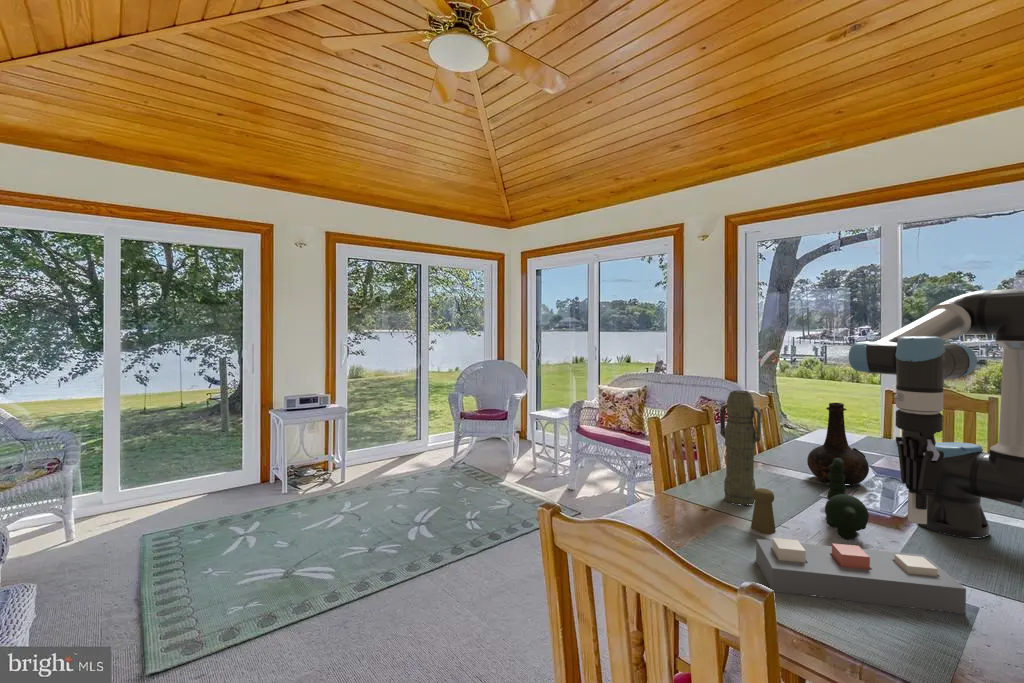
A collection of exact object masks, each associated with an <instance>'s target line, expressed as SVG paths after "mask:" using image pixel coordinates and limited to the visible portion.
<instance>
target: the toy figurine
mask: <svg viewBox="0 0 1024 683" xmlns="http://www.w3.org/2000/svg"><path fill="white" fill-rule="evenodd" d="M843 464H844V461H843V460H842V459H841V458H835V459H834V460H833V464H831V465H829V469H830V471H831V472H830V473H828V474H827V477H828V478H829V479H830V482H829V483H826V488H827V489H829V491H828V492H827V496H826V498H827V501H826V503H825V506H824V512H825V520H826V521H825V522H826V524H827V526H829V527H830V528H836V529H837V530H836V531H837V532H836V533H837V535H838V537H840V539H841V538H842V539H845V540H851V541H852V540H855V539H857V537H858V533H857V532H859V531H862V530H865V529H866V528H867V524H868V523H869V519H870V514H869V511H868V508H867V507H866V505H865V504H864V503H863V501H861V500H860V499H859V498H857V497H855V496H854V495H851V494H847V493H846V490H847V488H846V487H847V486H845V484H844V483H843V482H844V481H845V476H844V474H843V472H844V468H843Z"/></svg>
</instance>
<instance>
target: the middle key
mask: <svg viewBox="0 0 1024 683" xmlns="http://www.w3.org/2000/svg"><path fill="white" fill-rule="evenodd" d="M831 546H832V558H833V559H834V560H835V561H836V562H837V564H838V565H839V566H840V567H849V568H859V569H869V570H870V557H869V556H868V555H867V554H866V553H865V552H864V551H863V550H862V549H863V548H861V547H860V546H859V545H855V544H854V545H852V544H844V543H843V544H841V543H831Z"/></svg>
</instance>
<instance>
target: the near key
mask: <svg viewBox="0 0 1024 683" xmlns="http://www.w3.org/2000/svg"><path fill="white" fill-rule="evenodd" d="M894 562H895V563H896V564H897V565H898V566H899V567H900V568H901V569H902V570H903V571H904V572H905V573H908V574H917V575H927V576H937V575H938V569H937V568H936V567H935V566H933V565H932V564H931V563H930V562H929V561H927V560H926V559H925V558H924V557H919V556H909V555H898V554H895V556H894Z"/></svg>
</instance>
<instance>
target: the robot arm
mask: <svg viewBox="0 0 1024 683" xmlns="http://www.w3.org/2000/svg"><path fill="white" fill-rule="evenodd" d="M964 335H988V336H990V335H995V343H996V344H997V345H999V346H1000V347H1001V348H1002V350H1003V351H1002V352H1003V354H1002V369H1001V370H1002V372H1001V375H1002V376H1001V387H1000V388H1001V389H1000V390H1001V393H1000V409H999V410H1000V411H999V412H1000V413H999V426H998V427H999V429H998V430H999V431H998V442H997V443H996V444H994V445H991V446H990V448H989V452H984V449H983V447H982V446H981V445H980V444H977V443H969V442H960V441H959V442H955V441H954V442H953V441H951V442H950V441H943V442H942V441H941V442H936V439H935V434H936V433H941V432H942V431H943V430H944V425H943V424H944V414H942V413H941V412H943V411H944V394H945V392H944V382H945V381H944V380H955V379H960V378H961V377H965V376H968V375H969V374H971V373H972V372H974V370H975V369H976V367H977V364H978V358H977V354H976V353H975V352H974V350H972V349H971V347H969V346H967V345H966V344H961V343H955V342H952V343H951V342H946V343H945V341H947V340H948V339H956V338H959V337H962V336H964ZM848 361H849V362H848V363H849V365H850V367H851V368H852V369H853V370H855V371H856V372H862V373H868V374H882V375H892V376H893V375H894V376H896V386H895V394H894V396H893V397H894V399H895V407H896V408H897V410H896V411H895V427H896V428H898V429H900V430H903V431H902V436H896V437H895V443H896V446H897V451H898V459H899V460H898V461H899V471H900V478H901V483H902V484H905V487H906V489H907V521H908V522H909V523H911V524H918V525H919V524H920V526H921V525H922V526H921V527H923V526H924V527H923V528H925V527H926V529H928V528H929V529H928V530H930V529H932V530H931V531H933V530H935V531H934V532H936V531H937V532H936V533H939V532H941V533H940V534H943V533H946V534H945V535H947V534H950V535H949V536H951V535H955V536H954V537H957V536H962V537H961V538H963V537H983V536H986V535H988V534H989V535H990V526H989V522H988V520H987V517H986V515H985V512H984V510H983V507H982V505H981V504H982V503H981V499H982V498H983V499H987V500H990V501H991V500H992V501H994V502H995V501H996V502H998V503H999V502H1000V503H1002V504H1003V503H1004V504H1007V505H1010V506H1015V507H1020V508H1021V509H1024V288H1023V287H1022V288H1007V289H1006V288H1005V289H1003V288H1002V289H991V290H990V289H987V290H986V289H982V290H977V291H971V292H969V293H964V294H960V295H957V296H955V297H951V298H950V299H947V300H945V301H942V302H940V303H937V304H936V305H934V306H933V307H931V308H930V309H929V310H928V311H927V313H926V314H925V315H924V316H921V317H919V318H918V319H916V320H914V321H912V322H910V323H909V324H906V325H904V326H902V327H901V328H898V329H897V330H896V331H893V332H892V333H889V334H887V335H886V336H884V337H882V338H879V339H878V340H875V341H868V340H866V341H858V342H855V343H853V344H852V346H851V347H850V349H849V352H848Z"/></svg>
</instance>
